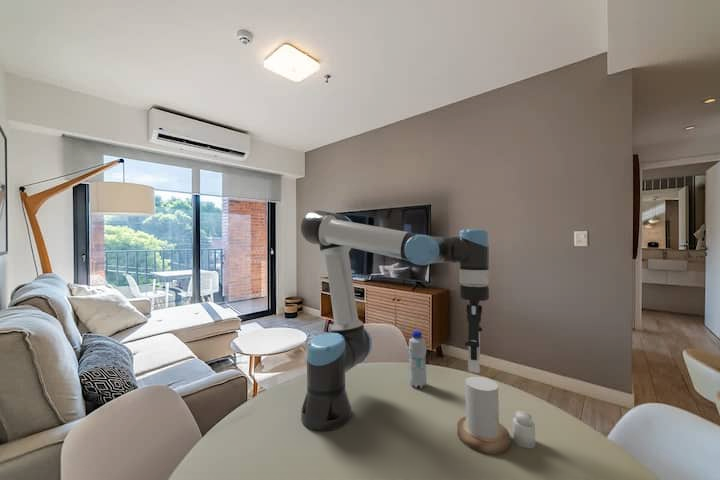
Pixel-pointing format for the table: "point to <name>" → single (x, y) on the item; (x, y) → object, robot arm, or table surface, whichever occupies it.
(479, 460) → the table surface
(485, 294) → the robot arm
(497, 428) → the white cylindrical piece
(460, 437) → the brown wooden plate
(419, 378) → the bottle
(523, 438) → the white knobbed rounded part
